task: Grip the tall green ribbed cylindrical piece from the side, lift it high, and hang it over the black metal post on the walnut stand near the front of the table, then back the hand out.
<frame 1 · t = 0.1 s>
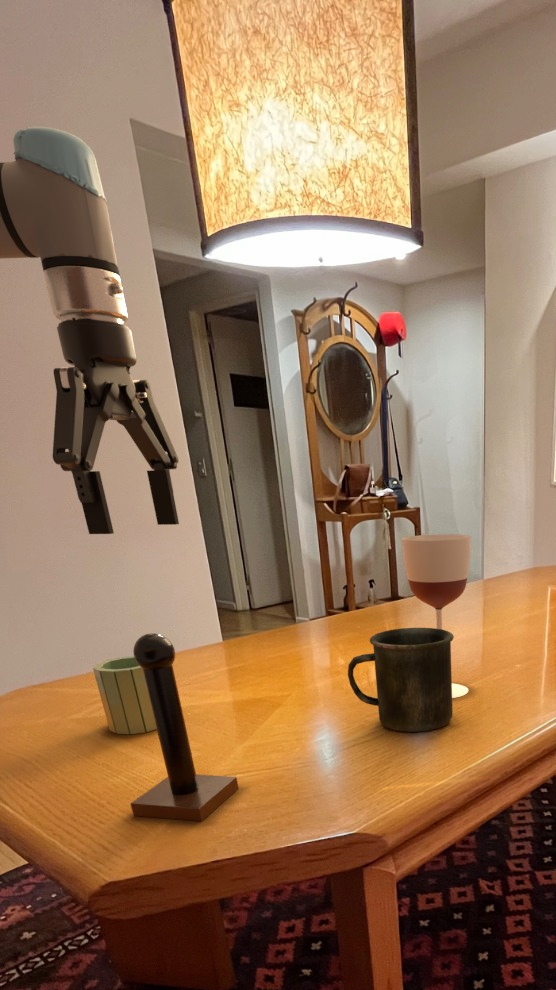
hand: (137, 529, 84), 26 cm above the table, tool pointing down, fingers open, 13 cm apart
post stand: (188, 801, 74), on the table
green ribbed cylindrical piece: (140, 724, 97), on the table
mug: (404, 723, 95), on the table
wineglass: (441, 692, 108), on the table
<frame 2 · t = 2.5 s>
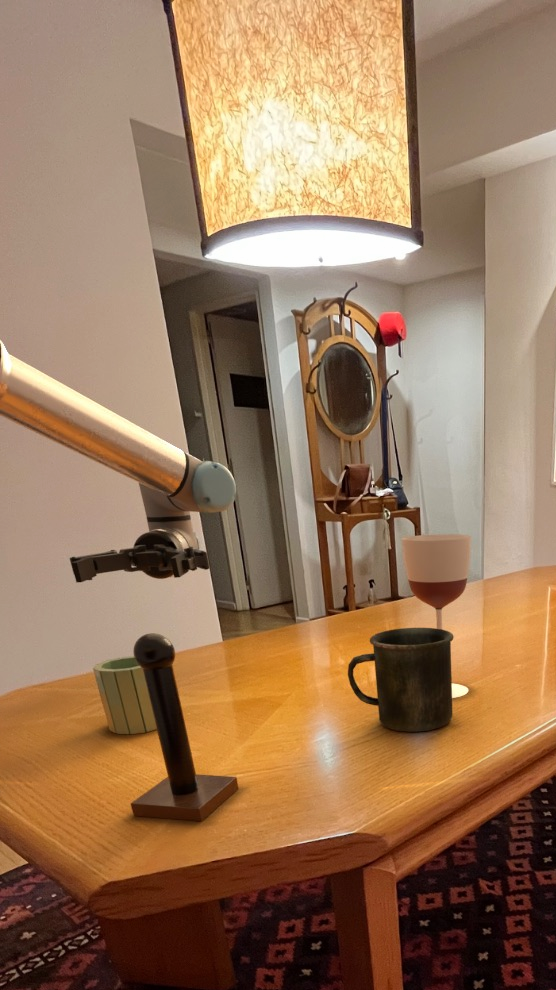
hand: (126, 570, 97), 20 cm above the table, tool horizontal, fingers open, 13 cm apart
nothing on the table moved.
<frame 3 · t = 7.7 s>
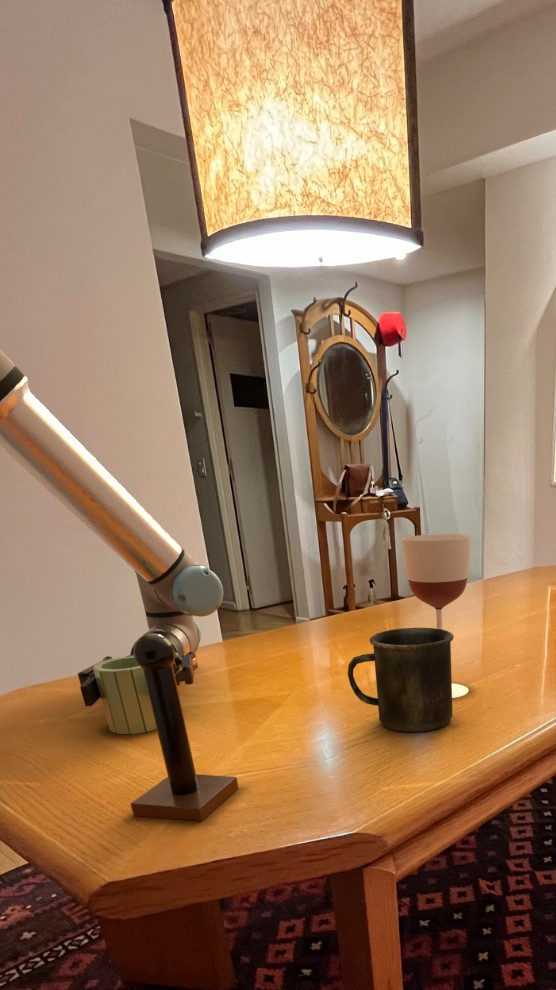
hand: (120, 694, 90), 6 cm above the table, tool horizontal, fingers closed on green ribbed cylindrical piece, 8 cm apart
green ribbed cylindrical piece: (140, 724, 97), on the table, touching gripper
everything else where it was.
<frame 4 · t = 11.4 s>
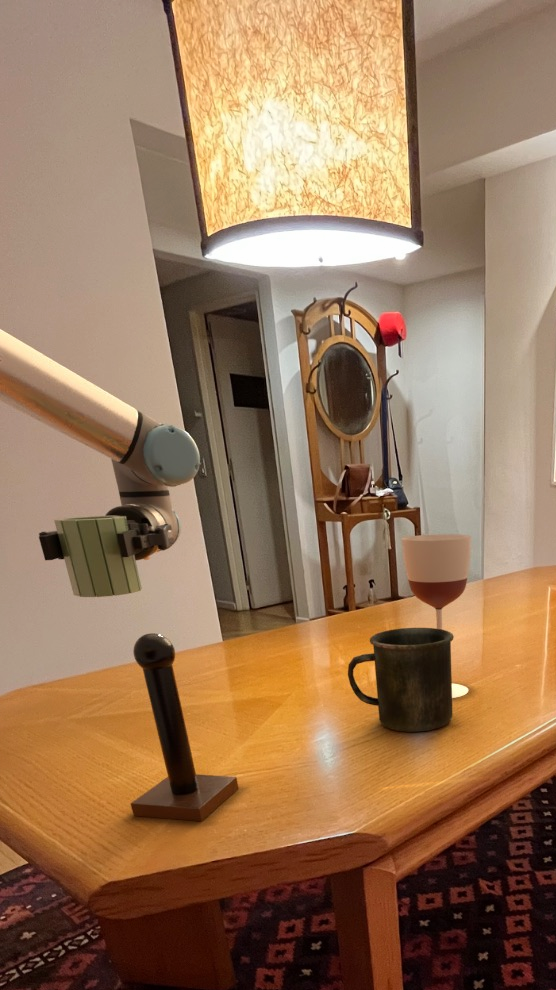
hand: (84, 546, 82), 25 cm above the table, tool horizontal, fingers closed on green ribbed cylindrical piece, 8 cm apart
green ribbed cylindrical piece: (108, 591, 88), point 19 cm above the table, touching gripper
everything else where it was.
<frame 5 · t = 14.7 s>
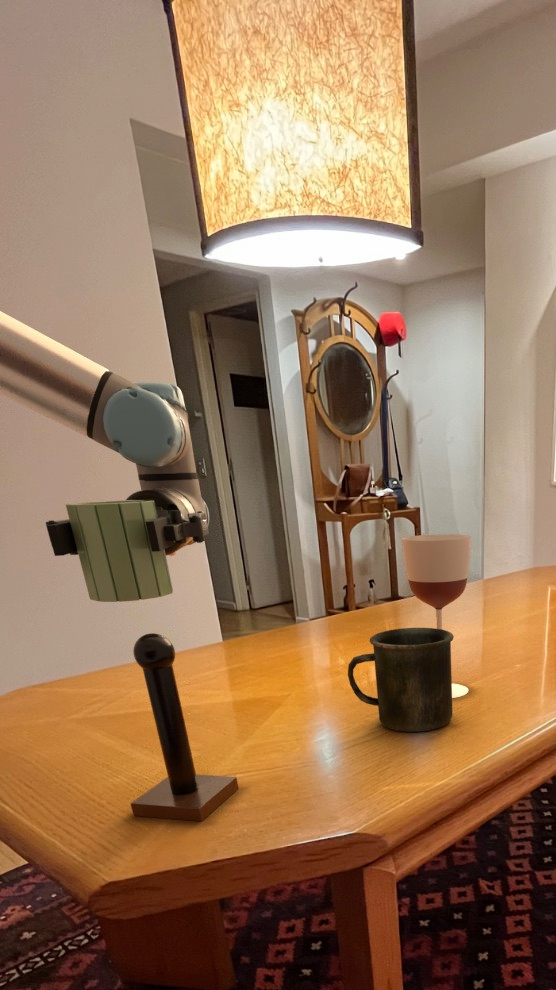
hand: (104, 538, 64), 27 cm above the table, tool horizontal, fingers closed on green ribbed cylindrical piece, 8 cm apart
green ribbed cylindrical piece: (132, 595, 71), point 21 cm above the table, touching gripper
everything else where it was.
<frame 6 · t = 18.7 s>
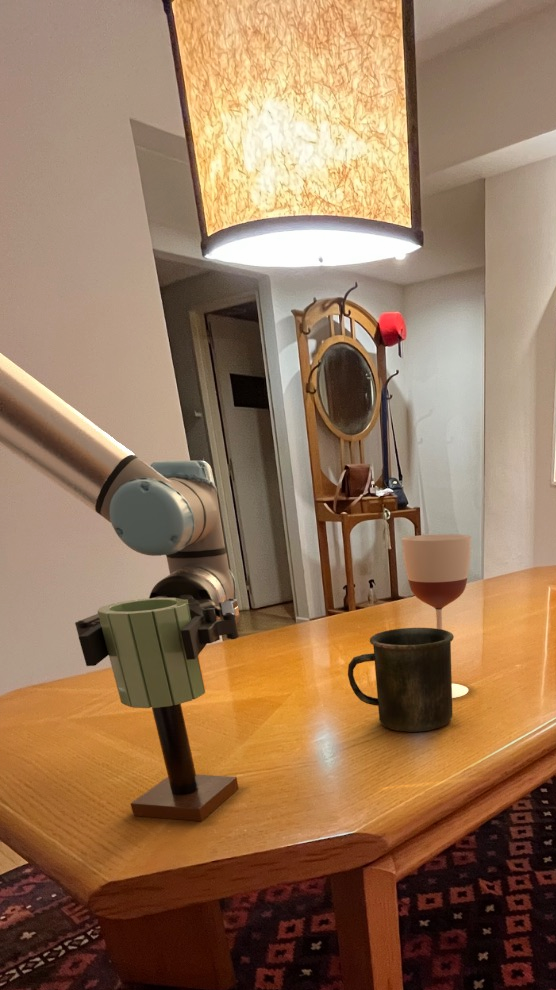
hand: (137, 648, 62), 18 cm above the table, tool horizontal, fingers closed on green ribbed cylindrical piece, 8 cm apart
green ribbed cylindrical piece: (164, 695, 69), point 12 cm above the table, touching gripper
everything else where it was.
when the fingers open (7 cm above the table, at t = 22.0 s): green ribbed cylindrical piece stays where it is, resting on post stand.
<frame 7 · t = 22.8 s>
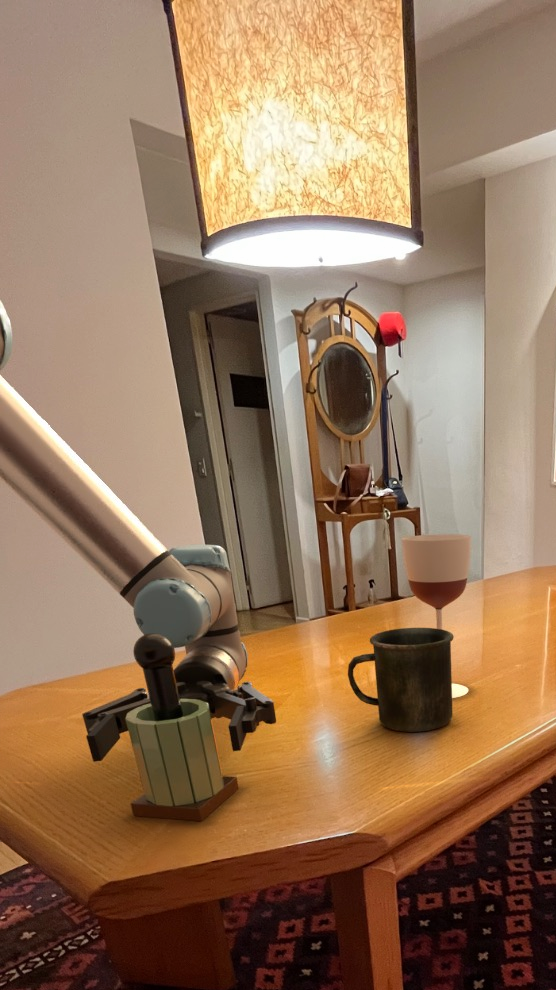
hand: (164, 743, 67), 8 cm above the table, tool horizontal, fingers open, 13 cm apart
green ribbed cylindrical piece: (185, 789, 73), point 1 cm above the table, touching post stand
everything else where it was.
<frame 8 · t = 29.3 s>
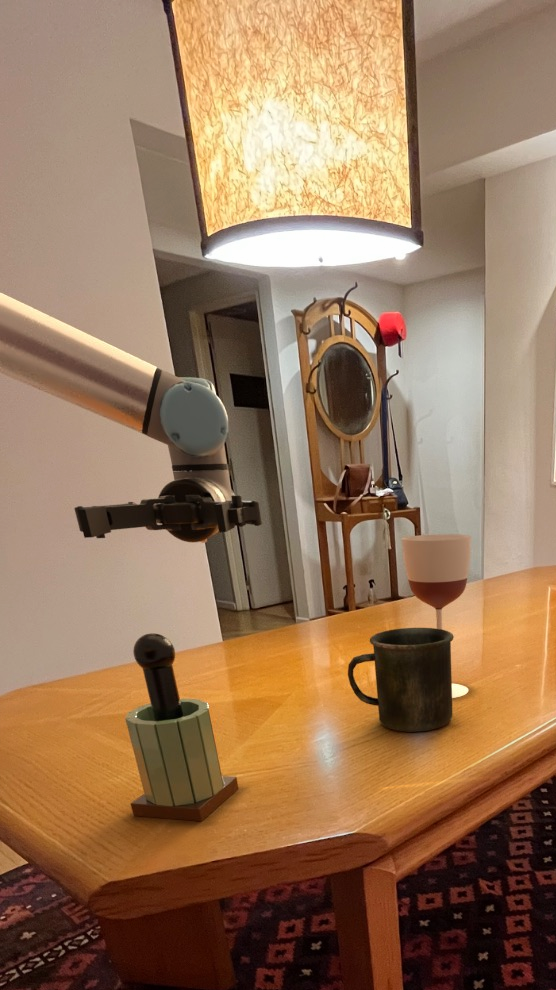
hand: (153, 521, 70), 28 cm above the table, tool horizontal, fingers open, 13 cm apart
nothing on the table moved.
at the end: green ribbed cylindrical piece 0.0 cm off-centre on the post stand, point 1.5 cm above the post stand's base; green ribbed cylindrical piece tilted 0°; the gripper is holding nothing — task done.
